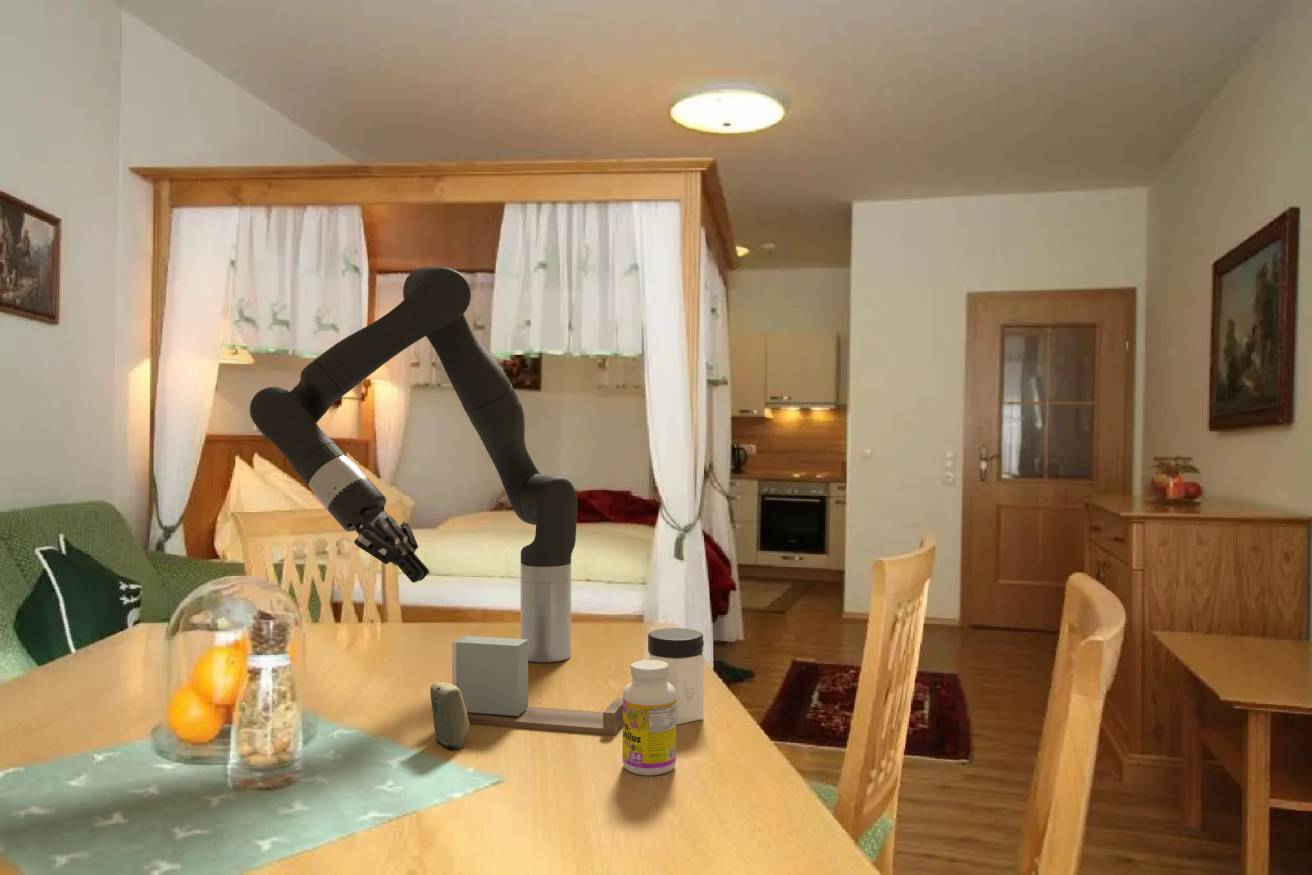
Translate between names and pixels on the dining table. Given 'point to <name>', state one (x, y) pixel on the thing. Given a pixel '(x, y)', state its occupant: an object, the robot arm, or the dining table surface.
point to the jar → (682, 668)
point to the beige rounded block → (449, 715)
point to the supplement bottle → (649, 720)
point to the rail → (559, 719)
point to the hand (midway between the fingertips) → (421, 577)
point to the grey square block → (491, 674)
